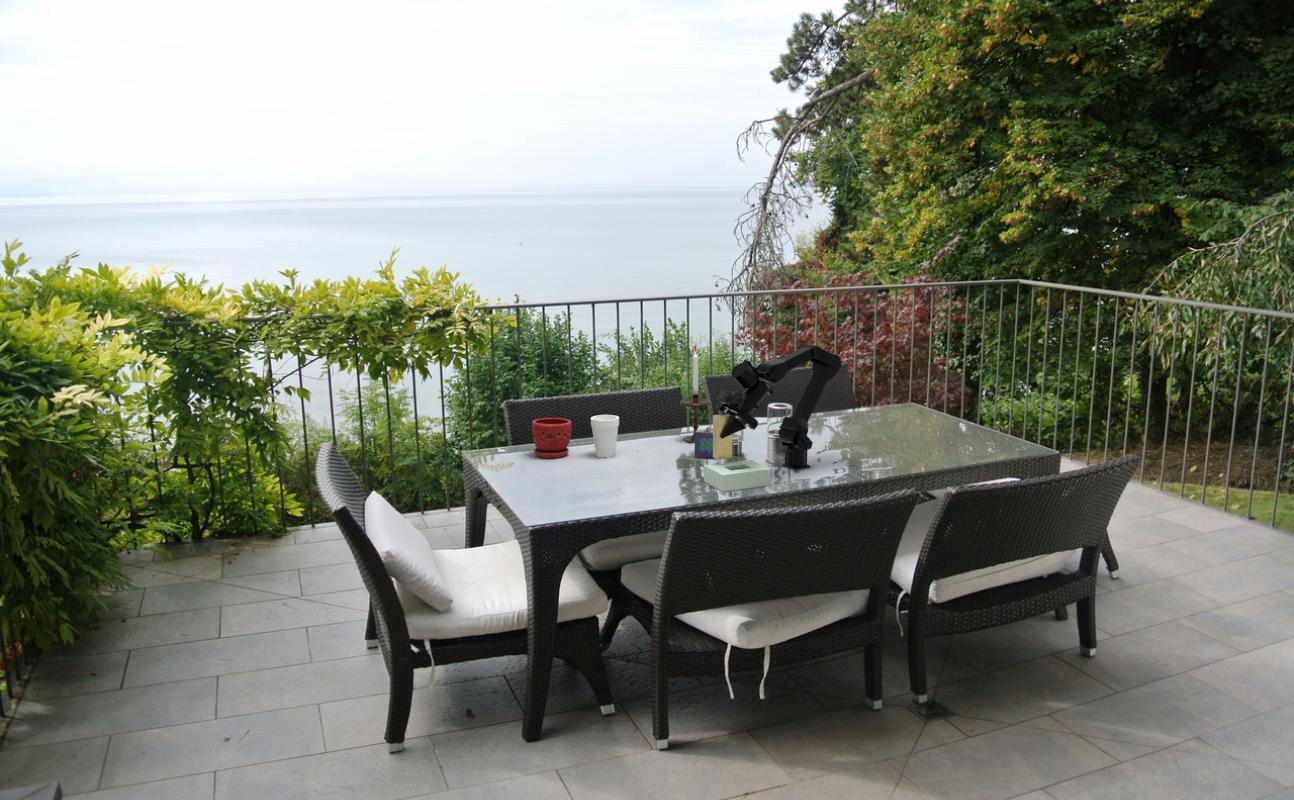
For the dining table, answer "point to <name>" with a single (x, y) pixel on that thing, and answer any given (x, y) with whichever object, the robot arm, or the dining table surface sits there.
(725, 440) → the tan rectangular block
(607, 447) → the foam cup
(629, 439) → the dining table surface
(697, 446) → the flask
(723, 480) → the coin box
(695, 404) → the candlestick
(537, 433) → the plant pot
